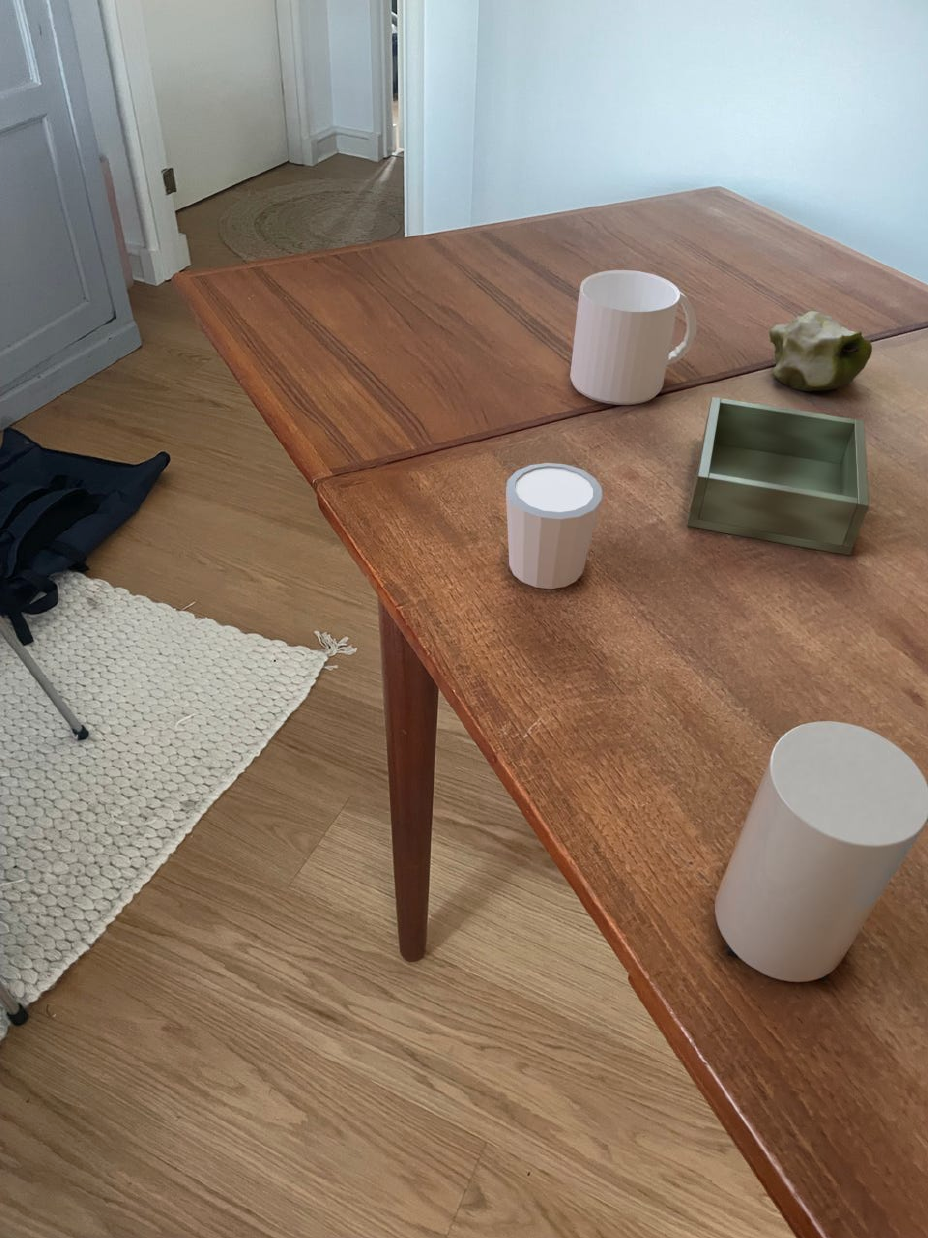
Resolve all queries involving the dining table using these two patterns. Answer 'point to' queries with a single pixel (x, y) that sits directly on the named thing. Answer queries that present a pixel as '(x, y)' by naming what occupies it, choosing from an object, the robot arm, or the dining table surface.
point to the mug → (627, 335)
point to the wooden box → (781, 476)
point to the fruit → (817, 353)
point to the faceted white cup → (550, 523)
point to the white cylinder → (818, 848)
